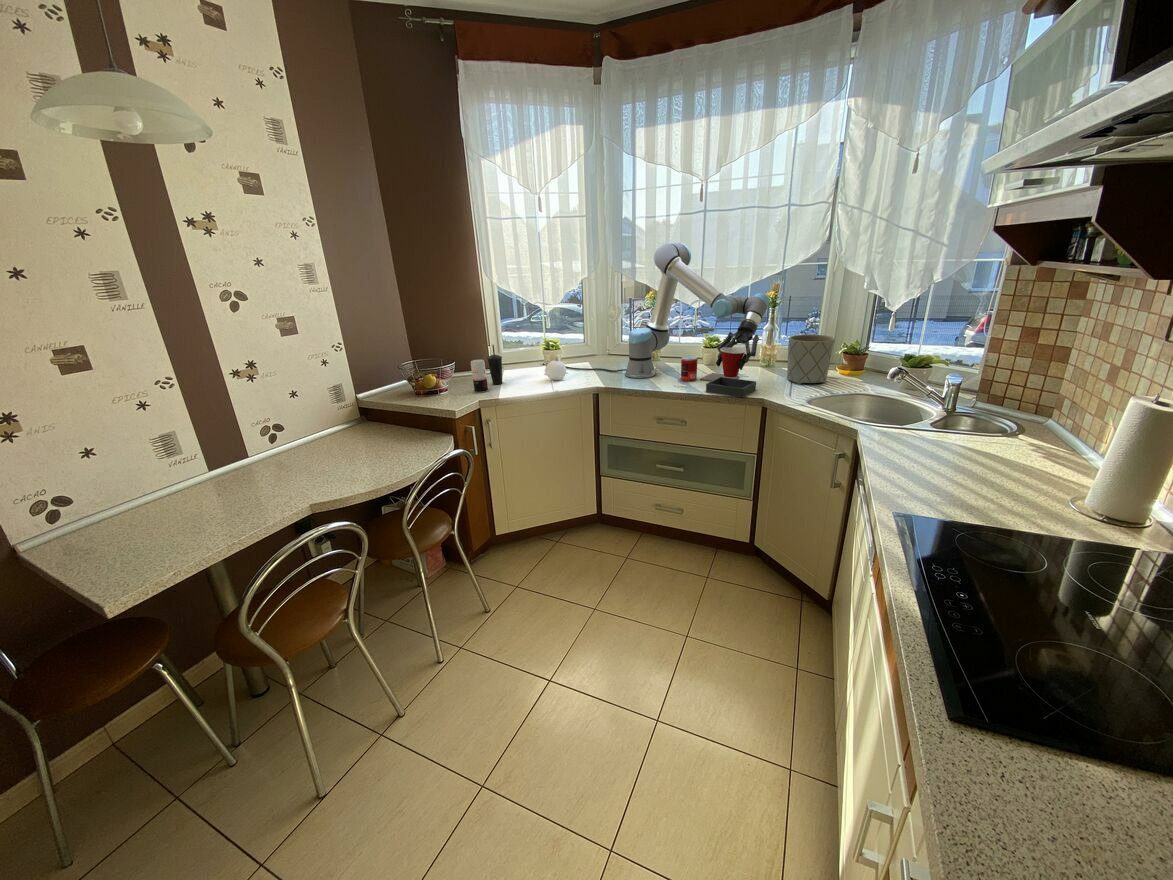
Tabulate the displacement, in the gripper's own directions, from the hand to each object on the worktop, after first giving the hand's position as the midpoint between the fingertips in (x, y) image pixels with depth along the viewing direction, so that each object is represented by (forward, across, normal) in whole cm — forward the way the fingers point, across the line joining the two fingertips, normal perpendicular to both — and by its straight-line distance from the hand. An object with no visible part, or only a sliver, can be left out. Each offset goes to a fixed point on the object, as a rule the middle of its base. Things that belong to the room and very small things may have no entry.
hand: (728, 366), depth 208 cm
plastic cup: (+1, 0, -6) cm, 6 cm away
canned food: (+2, +26, -16) cm, 31 cm away
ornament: (+30, +81, +12) cm, 87 cm away
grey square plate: (-5, +15, -22) cm, 28 cm away
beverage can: (+56, +96, +37) cm, 117 cm away
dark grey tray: (+6, 0, -10) cm, 12 cm away
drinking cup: (+46, +101, +28) cm, 115 cm away
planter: (-19, -19, -36) cm, 45 cm away
